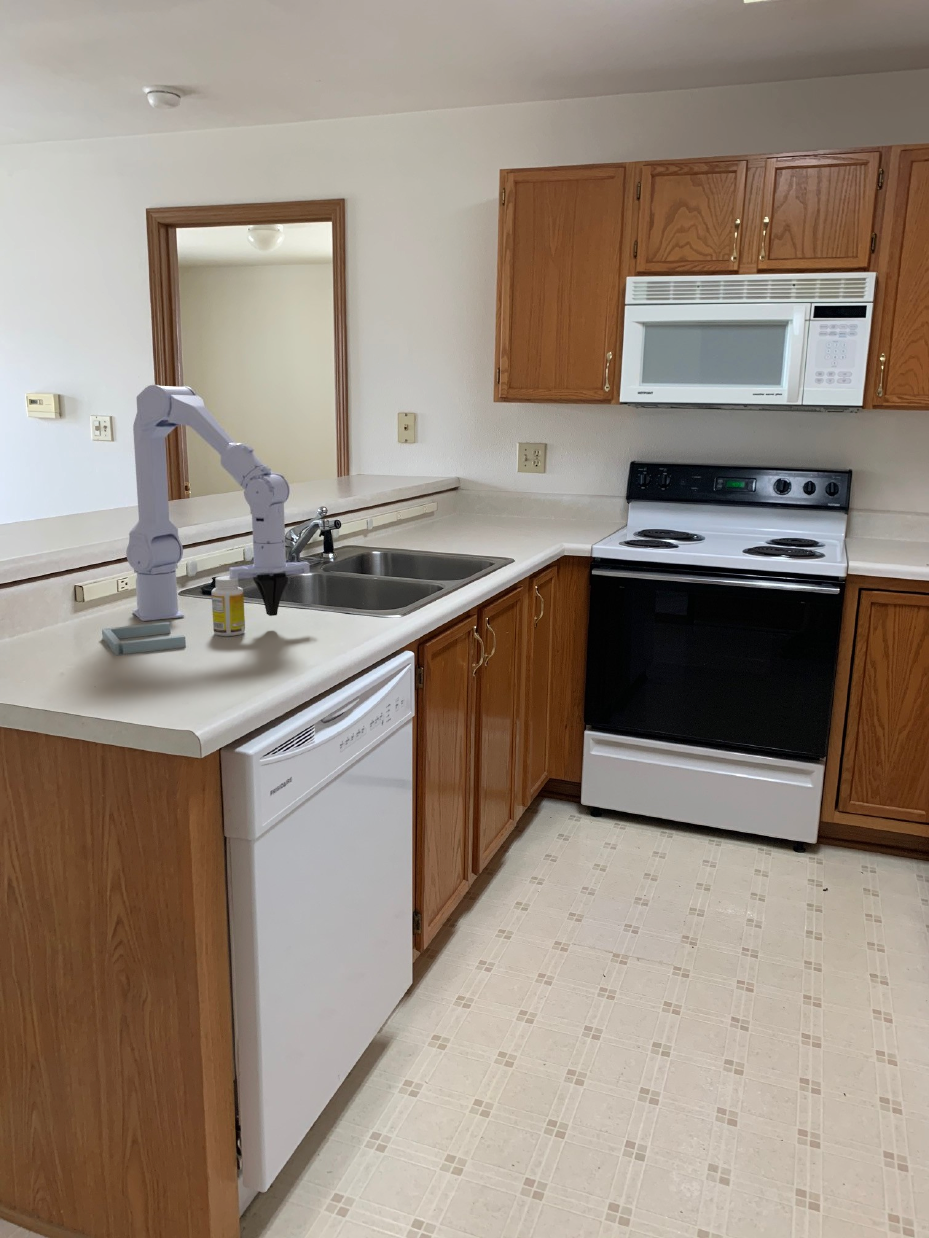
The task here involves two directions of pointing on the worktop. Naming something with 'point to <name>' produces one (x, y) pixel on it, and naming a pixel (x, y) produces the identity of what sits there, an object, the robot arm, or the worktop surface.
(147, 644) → the tray
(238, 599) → the supplement bottle
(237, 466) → the robot arm
